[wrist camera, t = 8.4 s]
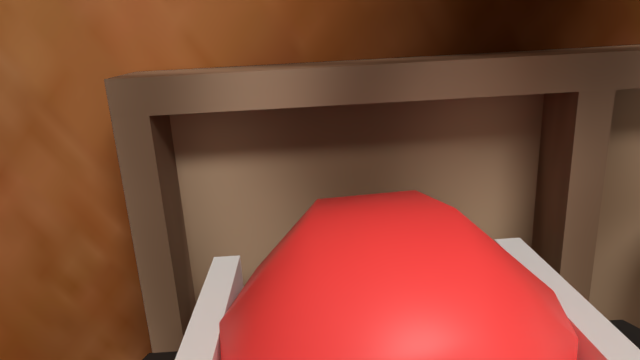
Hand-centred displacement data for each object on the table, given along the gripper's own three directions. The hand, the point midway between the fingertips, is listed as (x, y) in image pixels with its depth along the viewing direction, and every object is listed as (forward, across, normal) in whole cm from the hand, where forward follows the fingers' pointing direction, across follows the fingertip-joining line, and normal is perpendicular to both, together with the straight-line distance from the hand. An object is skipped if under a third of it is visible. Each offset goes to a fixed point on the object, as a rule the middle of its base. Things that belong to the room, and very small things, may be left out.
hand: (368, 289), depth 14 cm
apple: (+1, 0, 0) cm, 1 cm away
